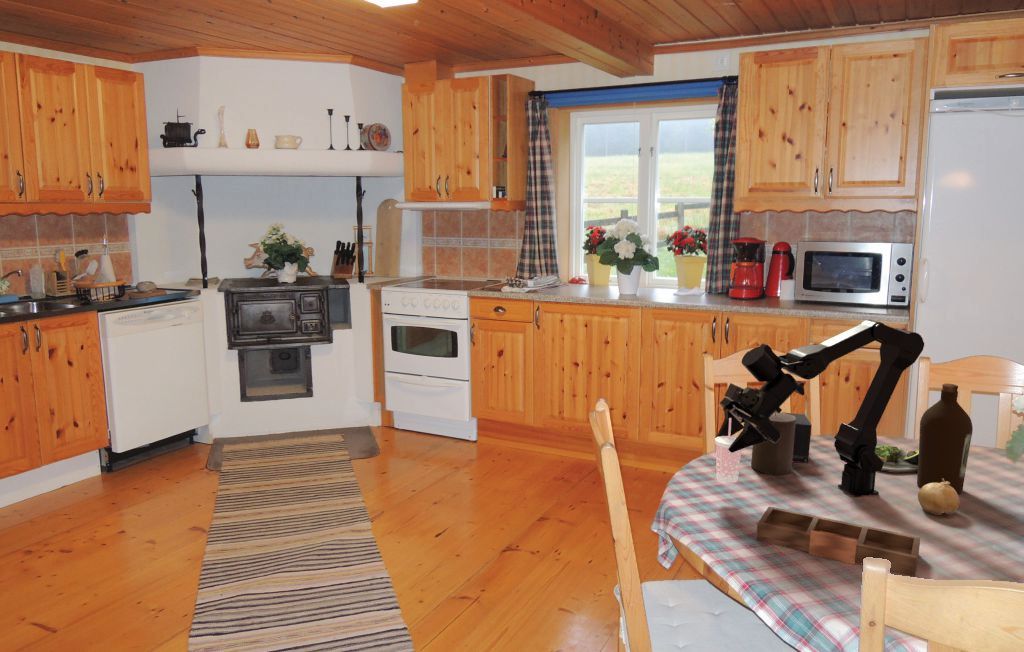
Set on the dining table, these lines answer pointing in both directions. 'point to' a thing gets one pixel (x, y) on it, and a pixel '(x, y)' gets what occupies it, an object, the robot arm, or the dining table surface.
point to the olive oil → (944, 441)
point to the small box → (801, 438)
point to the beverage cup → (727, 458)
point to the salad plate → (898, 459)
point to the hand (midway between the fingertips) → (723, 446)
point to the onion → (938, 498)
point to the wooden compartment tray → (838, 539)
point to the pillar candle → (776, 448)
